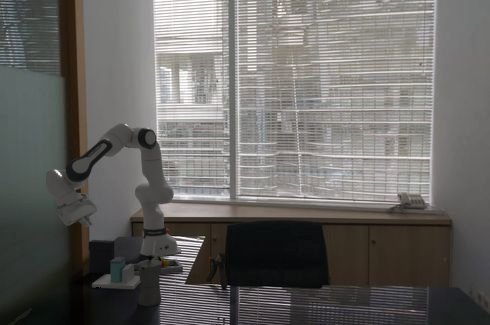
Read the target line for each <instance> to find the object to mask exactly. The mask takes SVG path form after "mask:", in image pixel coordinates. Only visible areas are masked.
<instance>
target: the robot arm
mask: <svg viewBox="0 0 490 325" xmlns="http://www.w3.org/2000/svg"><path fill="white" fill-rule="evenodd" d="M124 148H127V149H138V150H139V151H140V158H141V173H142V175H143V176H144V177H145V178H146V180H147V182H145V183H143V182H142V183H139V184H138V185H136V187H135V190H134V195H135V198H136V199H137V200H138V202H139V204H140V206H141V207H140V208H141V210H142V214H143V227H142V244H141V249H140V252H139V253H140V255H142V256H147V257H148V256H149V255H152V257H153V258H154V257H157V256H159V257H163V256H171V255H177V254H181V253H182V248H181V247H180V246H178V242H177V240H176V239H175V238H174V237H173V236H172V235H170V234H169V232H170V229H169V228H167V227H165V224H164V223H165V215H164V214H165V213H164V212H163V210H162V209H161V208H160V206H159V205H167V204H170V203H171V202H172V201H173V198H174V194H175V193H174V192H175V191H174V189H173V188H172V187H171V186H170V184H168V181H167V180H166V177H165V175H164V170H163V161H162V159H163V157H162V151H161V150H162V149H161V146H160V143H159V142H158V140H157V134H156V132H155V131H154V130H153V129H151V128H150V127H140V126H139V127H133V128H132V127H130V126H129V125H128V124H126V123H122V122H121V123H117V124H115V125H114V126H112V127H111V128H110V129H109V130H107V132H105V133H104V134H103V135H101V137H100V138H99V140H97V142H96V144H94V146H92V147H91V148H90V149H89V150H87V151H86V152H85V153H84V154H82V155H81V156H78V157H76V158H72V159H71V160H70V161H69V162H68V163H67V164H66V166H65V169H56V168H55V169H54V168H53V169H50V170H49V171H48V172H46V174H47V175H46V174H45V175H46V187H47V189H46V191H47V193H48V194H49V195H50V197H53V198H54V200H55V202H56V203H57V205H58V206H57V207H56V213H57V215H58V216H59V219H60V220H61V221H62V223H63V225H65V226H67V227H69V226H71V225H73V224H75V223H77V222H79V223H80V224H81V225H82V226H84V227H85V229H86V228H87V229H88V228H89V227H92V226H93V225H94V224H93V222H92V221H91V220H92V219H91V216H93V215H95V214H96V213H97V211H98V207H97V206H96V204H95V203H94V202H93V201H92V199H90V198H89V196H88V194H87V193H83V192H78V191H77V190H80V189H82V188H84V186H86V185H87V183H88V180H89V178H90V175H91V173H92V170H93V167H94V166H95V165H96V164H97V163H98V162H99V161H101V159H102V158H104V157H109V158H111V157H114V156H115V155H117V154H119V153H120V152H121V151H122V149H124Z"/></svg>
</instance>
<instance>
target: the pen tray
mask: <svg viewBox="0 0 490 325" xmlns="http://www.w3.org/2000/svg"><path fill="white" fill-rule="evenodd" d="M166 260H167V259H166ZM167 261H168V262H169V265H168V266H166V268H161V271H160V275H166V274H168V275H169V274H172V273H173V274H175V273H181V272H182V273H183V272H184V267H183V264H182V263H180V261H179V260H178V259H177V258H175V259H168V260H167ZM133 264H134V276H139V269H138V263H133ZM127 265H128V264H125V267H126V266H127ZM169 266H170V267H169ZM135 270H136V271H135Z"/></svg>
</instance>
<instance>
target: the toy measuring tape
mask: <svg viewBox="0 0 490 325" xmlns="http://www.w3.org/2000/svg"><path fill="white" fill-rule="evenodd" d="M157 257H158V256H157ZM159 257H160V258H161V261H162V265H161V268H167V267H169V266H168V265H169V262H168V261H167V259H164V258H163V257H162V256H159ZM154 258H156V257H154V256H153V257H152V260H154Z"/></svg>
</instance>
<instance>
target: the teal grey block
mask: <svg viewBox="0 0 490 325" xmlns="http://www.w3.org/2000/svg"><path fill="white" fill-rule="evenodd" d="M126 260H127V258H126V257H125V256H124V257H123V256H116V257H114V259H113V260H111V261H110V263H111V279H110V282H120V281H121V280H122V269H124V268H125V265H126Z"/></svg>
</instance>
